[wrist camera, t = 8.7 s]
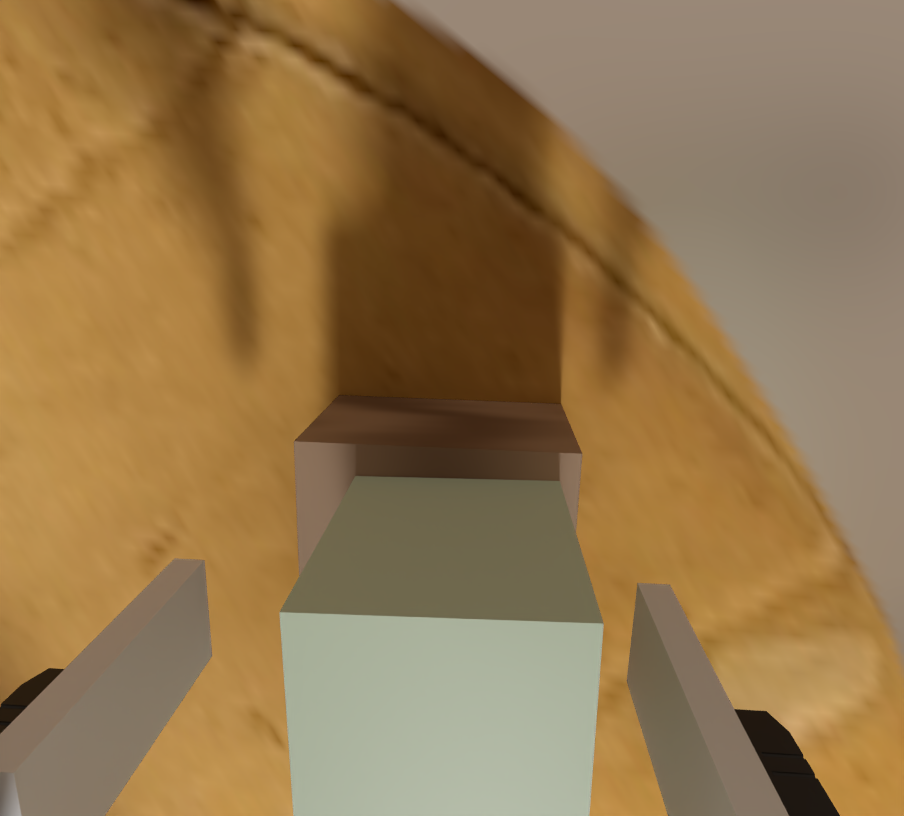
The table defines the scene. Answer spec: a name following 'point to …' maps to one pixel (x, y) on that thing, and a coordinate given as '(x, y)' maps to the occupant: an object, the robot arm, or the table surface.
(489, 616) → the sage block
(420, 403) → the walnut base
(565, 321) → the table surface
